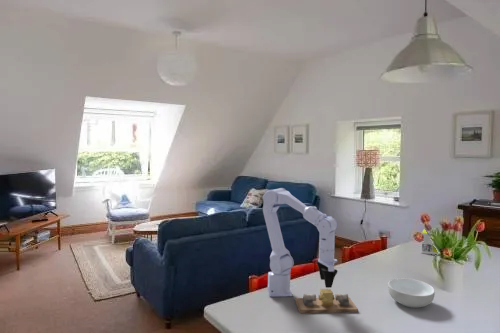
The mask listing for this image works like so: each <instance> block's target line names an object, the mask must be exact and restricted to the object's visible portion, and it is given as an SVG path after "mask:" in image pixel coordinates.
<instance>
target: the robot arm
mask: <svg viewBox="0 0 500 333" xmlns="http://www.w3.org/2000/svg"><path fill="white" fill-rule="evenodd" d="M262 202H263V206H262V213H263V217H264V221H265V225H266V230H267V234H268V238H269V241H270V247H271V250H272V251H271V253H270V256H269V260H270V261H269V268H270V270H271V271H268V273H267V292H268V295H269V297H293V294H292V291H291V271H292V270H291V269H292V268H293V266H294V264H295V263H294V261H295V260H294V259H293V257H292V256H291V253H290V251H289V250H288V249H287V248H286V246H285V243H284V239H283V238H284V237H283V234H282V231H281V226H280V222H279V218H278V214H277V211H278V210H279V208H280V206H282V205H288V206H290V207H291V208H292V209H294V210H295V211H297V212H299V213H301V214H302V217H303V219H305V221H307V222H309V223H310V224H312V225H313V226H315V227H316V229H317V231H318V232H319V235H318V236H319V240H318V241H319V242H318V258H317V259H318V260H316V261H315V262H316V265H317V268H318V271H319V272H318V273H319V277H320V280H321V281H324V285H325V286H324V287H325V289H331V288H332V286H333V285H334V284H333V283H334V280H335V277H336V275H337V274H338V270H337V269H335V264H336V263H338V259H337V258H335V246H336V245H335V243H336V241H335V240H336V238H335V236H336V229H337V228H338V221H337V219H336V218H334V216H331V215H329V216H328V215H327V213H323V212H322V211H320V210H318V207H317V206H312V205H310V206H307V205H306V204H305V203H303V202H302V201H300V200H299V199H298V198H296V197H295V196H294V195H292V194H291V192H290V191H289V190H286V188H284V187H279V188H275V189H268V190H266V191H265V193H264V194H263V195H262Z"/></svg>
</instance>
